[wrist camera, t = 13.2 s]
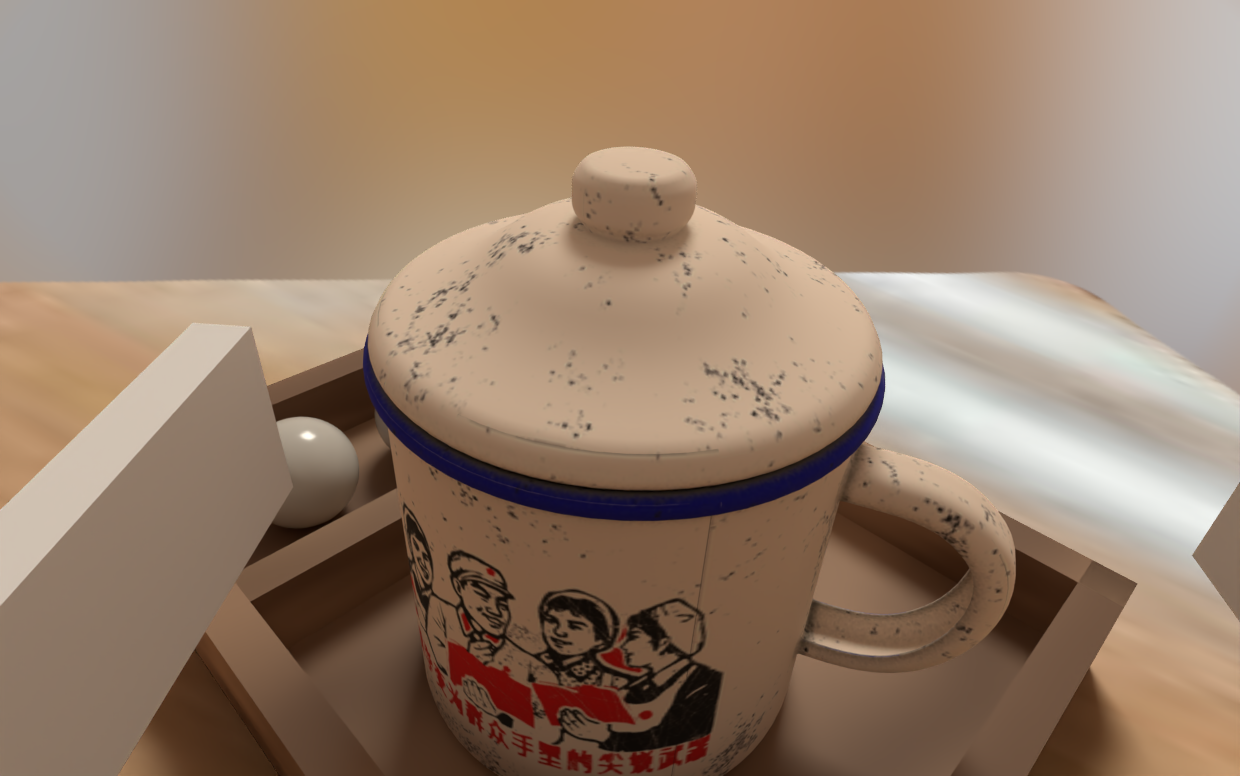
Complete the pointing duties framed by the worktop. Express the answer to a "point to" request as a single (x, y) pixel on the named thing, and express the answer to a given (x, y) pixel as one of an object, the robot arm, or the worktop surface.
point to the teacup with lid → (645, 479)
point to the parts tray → (817, 693)
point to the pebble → (316, 472)
